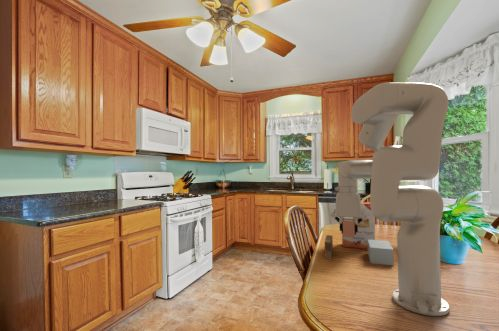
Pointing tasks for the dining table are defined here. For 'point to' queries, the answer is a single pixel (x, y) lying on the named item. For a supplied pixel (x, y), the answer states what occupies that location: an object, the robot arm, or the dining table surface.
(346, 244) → the cracker box
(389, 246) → the slate block
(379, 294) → the dining table surface
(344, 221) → the pink rectangular block
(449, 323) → the dining table surface
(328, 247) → the bookend
